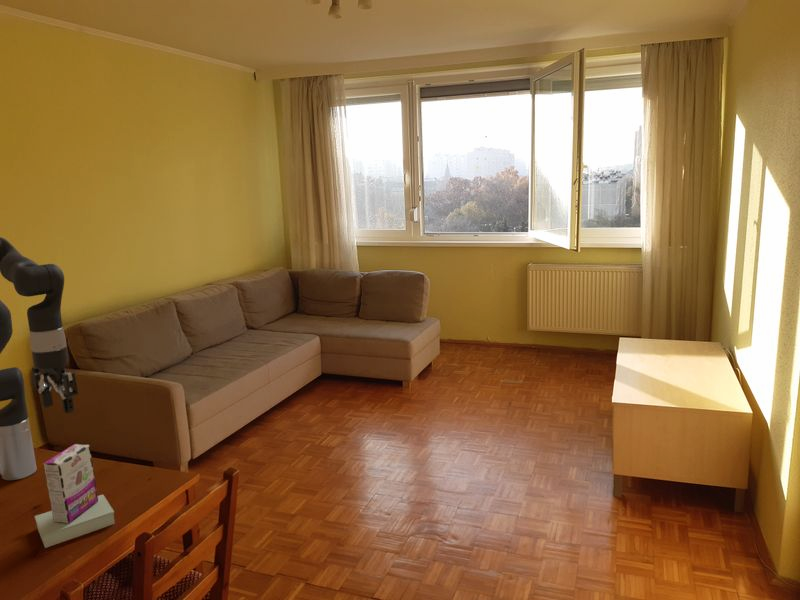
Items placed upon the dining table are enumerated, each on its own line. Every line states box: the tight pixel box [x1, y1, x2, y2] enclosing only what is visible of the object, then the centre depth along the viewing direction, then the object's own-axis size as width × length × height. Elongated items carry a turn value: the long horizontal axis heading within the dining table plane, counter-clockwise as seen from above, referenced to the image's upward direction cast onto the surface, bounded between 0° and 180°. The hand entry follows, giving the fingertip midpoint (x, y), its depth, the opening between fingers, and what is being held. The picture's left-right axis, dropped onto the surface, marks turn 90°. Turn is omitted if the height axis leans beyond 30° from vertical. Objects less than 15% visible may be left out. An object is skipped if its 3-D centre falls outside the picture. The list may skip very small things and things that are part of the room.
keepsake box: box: [34, 494, 115, 549], centre depth 159 cm, size 16×11×4 cm
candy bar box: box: [42, 443, 99, 524], centre depth 158 cm, size 11×5×16 cm, turn 168°
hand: (58, 409), depth 153 cm, fingers open, 8 cm apart
